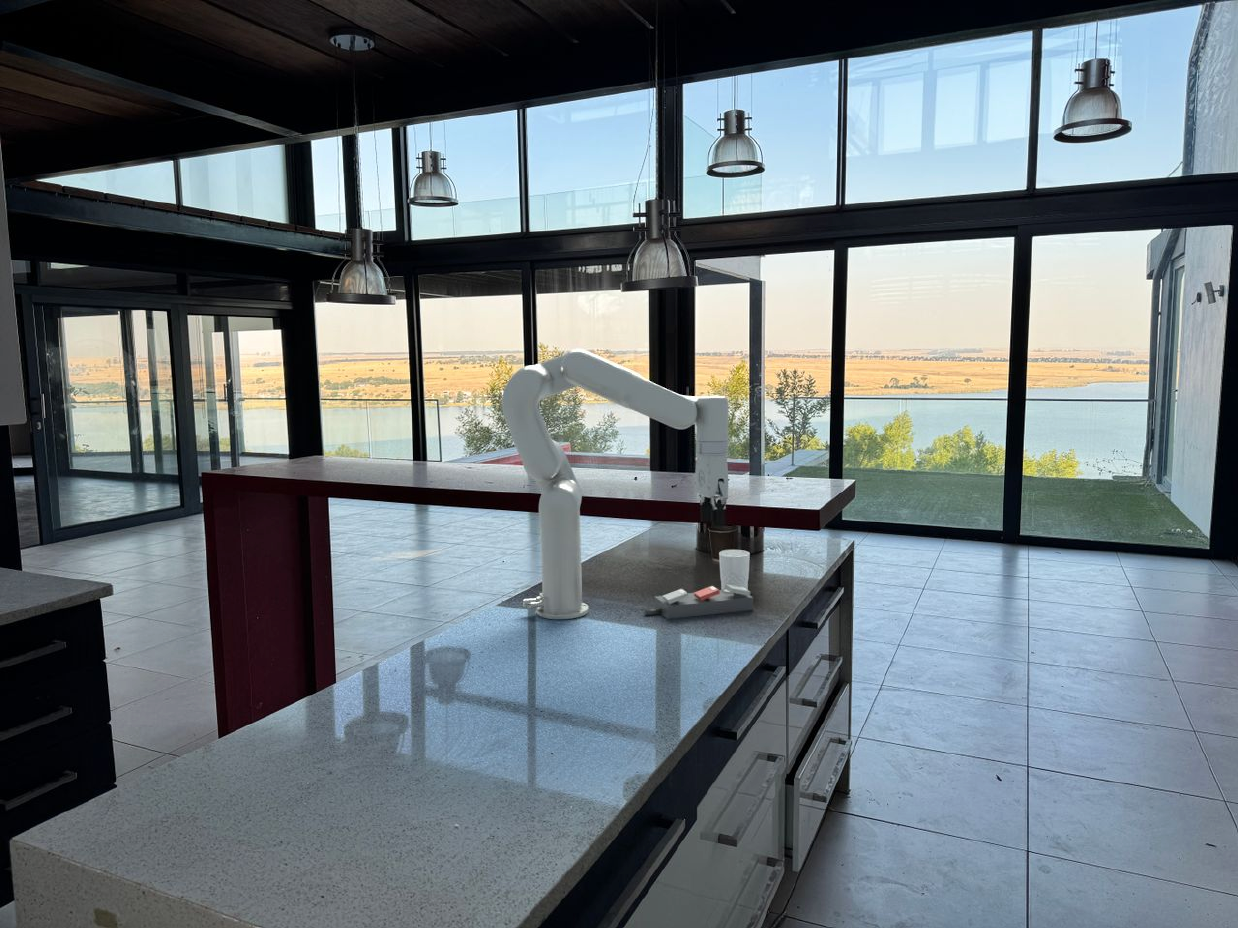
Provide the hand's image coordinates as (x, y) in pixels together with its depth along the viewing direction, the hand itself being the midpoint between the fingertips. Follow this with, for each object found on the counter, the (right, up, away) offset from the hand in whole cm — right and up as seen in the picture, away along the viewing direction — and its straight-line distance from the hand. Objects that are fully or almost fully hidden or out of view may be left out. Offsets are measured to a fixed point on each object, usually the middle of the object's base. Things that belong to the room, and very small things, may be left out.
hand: (712, 522), depth 204 cm
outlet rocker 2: (-1, -17, +2) cm, 17 cm away
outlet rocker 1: (-9, -17, -1) cm, 20 cm away
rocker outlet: (+6, -17, +4) cm, 18 cm away
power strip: (-4, -21, +3) cm, 22 cm away
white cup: (+8, -19, +20) cm, 29 cm away
